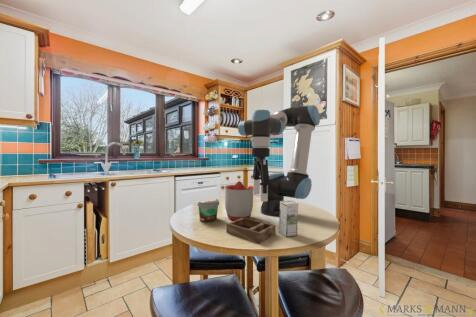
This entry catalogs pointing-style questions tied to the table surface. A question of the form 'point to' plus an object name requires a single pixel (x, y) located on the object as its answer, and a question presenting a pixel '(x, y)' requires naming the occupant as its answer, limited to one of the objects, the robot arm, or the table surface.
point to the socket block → (251, 229)
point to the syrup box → (288, 218)
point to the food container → (208, 211)
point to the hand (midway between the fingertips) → (260, 197)
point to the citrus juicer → (238, 201)
